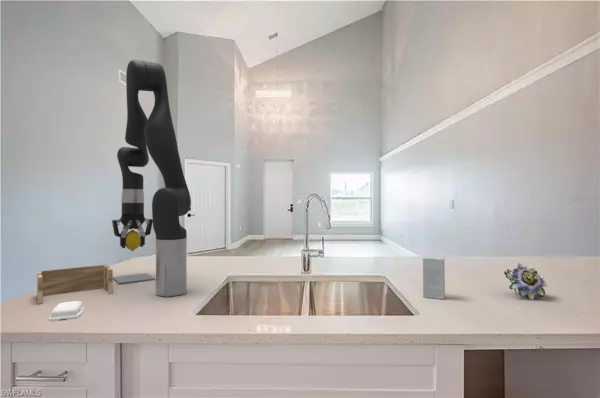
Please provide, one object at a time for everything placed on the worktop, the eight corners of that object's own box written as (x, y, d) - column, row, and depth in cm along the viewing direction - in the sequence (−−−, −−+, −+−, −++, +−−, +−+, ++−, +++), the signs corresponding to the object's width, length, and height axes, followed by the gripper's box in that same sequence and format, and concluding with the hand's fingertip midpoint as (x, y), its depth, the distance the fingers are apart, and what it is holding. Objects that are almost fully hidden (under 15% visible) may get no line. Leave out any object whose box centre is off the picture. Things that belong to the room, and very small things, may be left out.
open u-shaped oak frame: (112, 293, 114) (112, 269, 114) (38, 304, 102) (38, 277, 102) (106, 286, 122) (106, 264, 122) (37, 295, 111) (37, 271, 111)
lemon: (143, 250, 136) (143, 229, 136) (135, 252, 130) (135, 230, 130) (129, 250, 136) (129, 228, 136) (121, 252, 131) (121, 230, 131)
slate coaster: (155, 279, 133) (155, 278, 133) (119, 284, 125) (119, 282, 125) (146, 274, 142) (146, 272, 142) (112, 278, 135) (112, 276, 135)
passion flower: (530, 317, 107) (513, 287, 104) (505, 300, 118) (489, 272, 115) (562, 296, 107) (546, 265, 104) (534, 281, 118) (519, 252, 115)
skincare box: (444, 296, 110) (445, 257, 110) (444, 299, 106) (444, 259, 106) (424, 294, 113) (424, 255, 113) (422, 297, 109) (422, 257, 109)
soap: (79, 319, 90) (79, 308, 90) (46, 323, 88) (46, 311, 88) (85, 309, 98) (85, 298, 98) (56, 312, 96) (56, 301, 96)
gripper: (113, 201, 126) (113, 250, 126) (156, 201, 135) (155, 247, 135) (109, 201, 132) (109, 247, 132) (150, 201, 141) (150, 244, 141)
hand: (132, 247), depth 133 cm, fingers closed on lemon, 5 cm apart
